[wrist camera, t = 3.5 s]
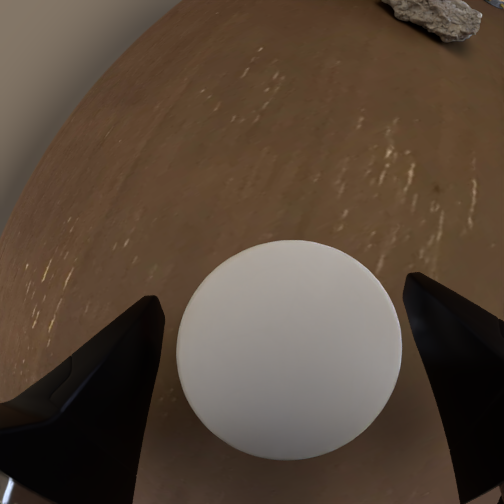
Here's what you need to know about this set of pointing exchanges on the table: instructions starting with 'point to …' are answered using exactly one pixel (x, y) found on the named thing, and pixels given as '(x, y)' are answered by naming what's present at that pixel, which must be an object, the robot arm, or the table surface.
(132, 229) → the table surface
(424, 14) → the mineral specimen
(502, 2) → the mug
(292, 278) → the pill bottle
